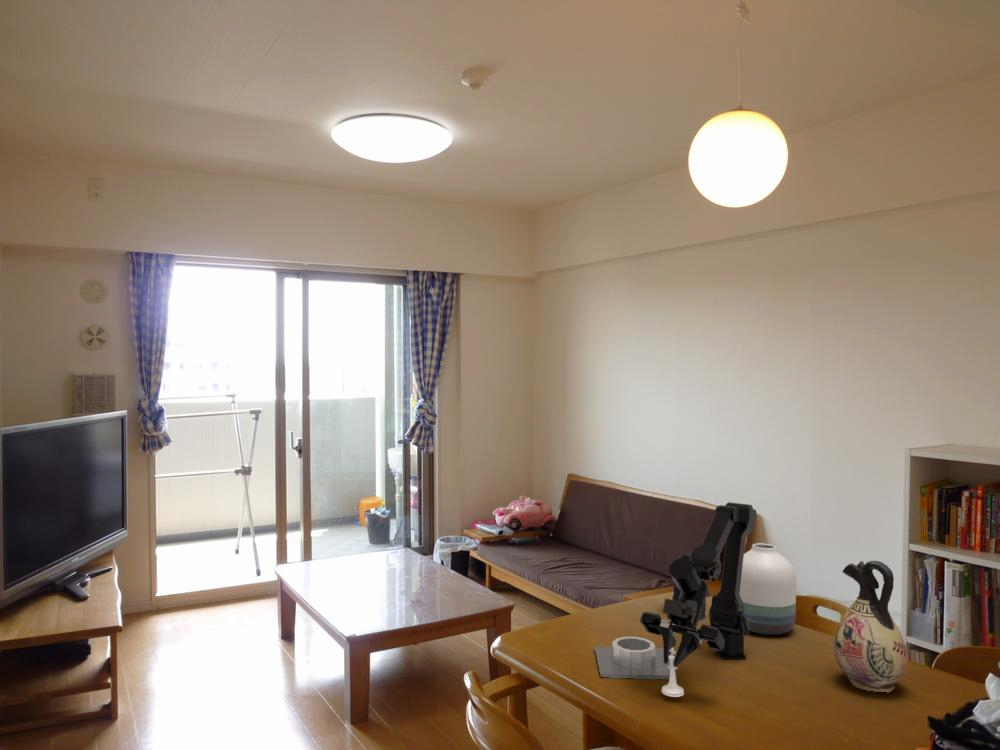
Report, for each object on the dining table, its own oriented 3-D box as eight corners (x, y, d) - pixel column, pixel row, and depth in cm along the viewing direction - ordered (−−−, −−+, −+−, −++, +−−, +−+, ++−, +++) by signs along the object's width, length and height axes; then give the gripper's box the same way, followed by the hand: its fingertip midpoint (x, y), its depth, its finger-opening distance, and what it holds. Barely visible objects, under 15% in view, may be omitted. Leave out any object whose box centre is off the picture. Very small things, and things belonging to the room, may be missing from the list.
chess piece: (671, 698, 157) (671, 653, 157) (656, 690, 161) (656, 645, 161) (688, 694, 159) (688, 649, 159) (673, 685, 163) (673, 642, 163)
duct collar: (663, 651, 188) (663, 632, 188) (677, 680, 170) (677, 658, 170) (594, 649, 188) (594, 630, 189) (600, 678, 170) (601, 657, 171)
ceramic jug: (818, 678, 171) (818, 553, 171) (864, 668, 177) (864, 547, 178) (881, 708, 155) (881, 570, 156) (929, 696, 162) (929, 563, 162)
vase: (720, 625, 208) (720, 543, 208) (759, 616, 217) (759, 537, 217) (768, 644, 193) (768, 555, 194) (808, 633, 202) (808, 548, 202)
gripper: (643, 576, 169) (620, 636, 160) (719, 591, 157) (698, 657, 149) (658, 601, 175) (637, 660, 166) (733, 618, 163) (714, 682, 155)
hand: (669, 664), depth 159 cm, fingers closed on chess piece
